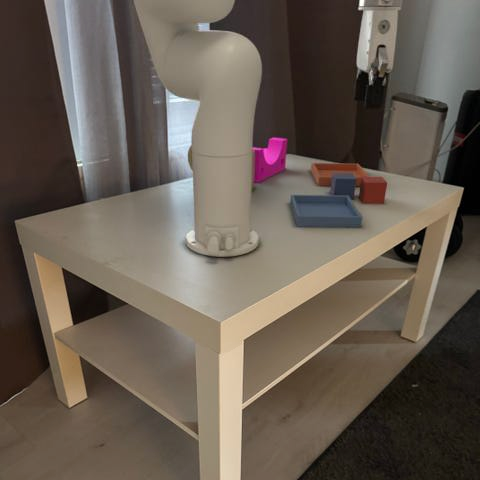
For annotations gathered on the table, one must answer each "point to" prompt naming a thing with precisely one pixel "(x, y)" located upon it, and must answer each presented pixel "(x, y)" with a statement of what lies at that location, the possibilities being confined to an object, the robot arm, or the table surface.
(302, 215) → the blue tray
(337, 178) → the blue block
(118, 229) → the table surface
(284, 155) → the toy block
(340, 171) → the red tray
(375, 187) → the red block
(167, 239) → the table surface
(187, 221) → the table surface
